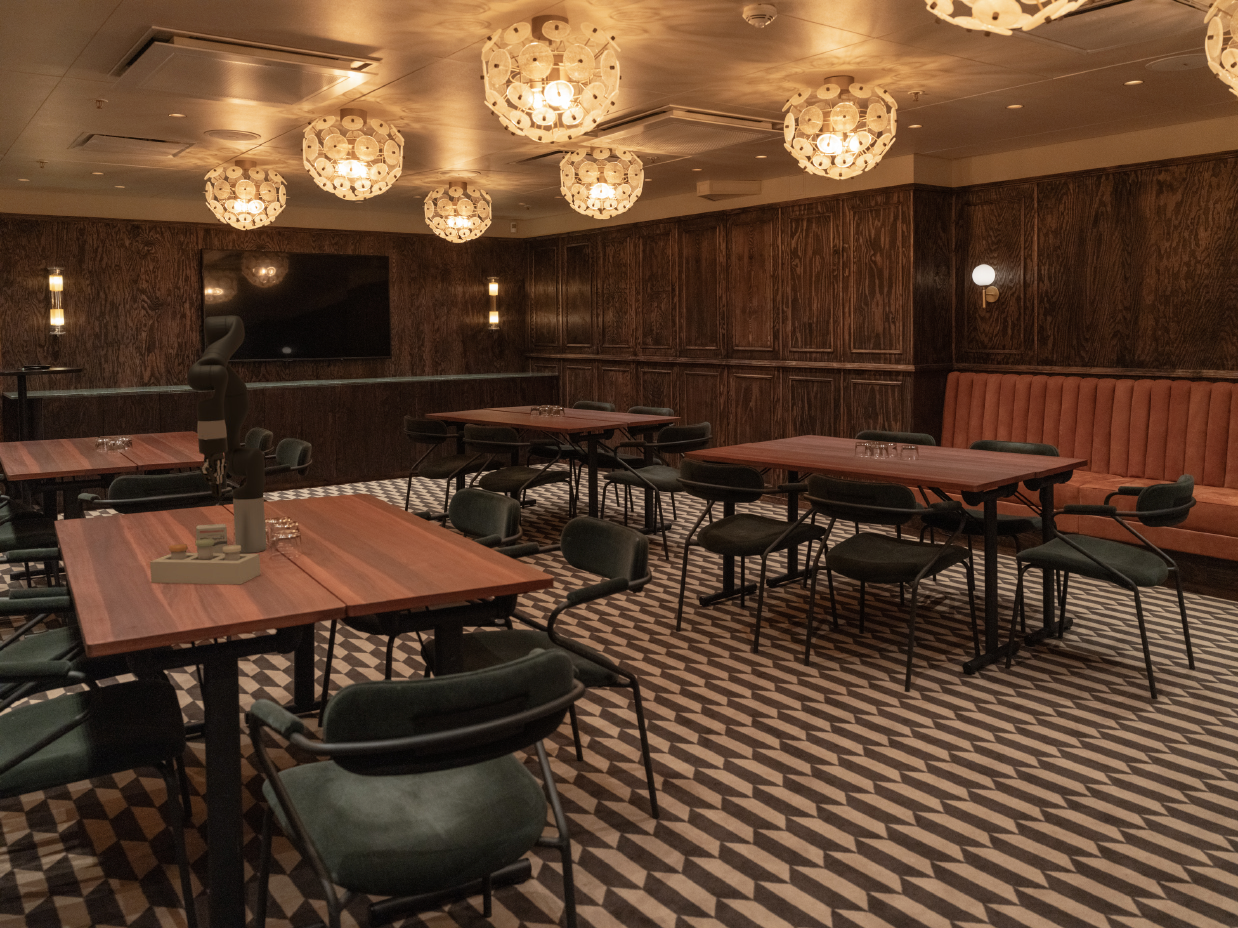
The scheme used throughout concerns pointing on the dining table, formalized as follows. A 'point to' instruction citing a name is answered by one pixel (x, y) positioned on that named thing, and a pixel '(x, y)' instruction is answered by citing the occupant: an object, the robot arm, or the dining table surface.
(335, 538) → the dining table surface
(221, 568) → the panel
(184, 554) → the terracotta plunger
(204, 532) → the ink box
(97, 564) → the dining table surface
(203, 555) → the sage plunger
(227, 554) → the cream plunger
